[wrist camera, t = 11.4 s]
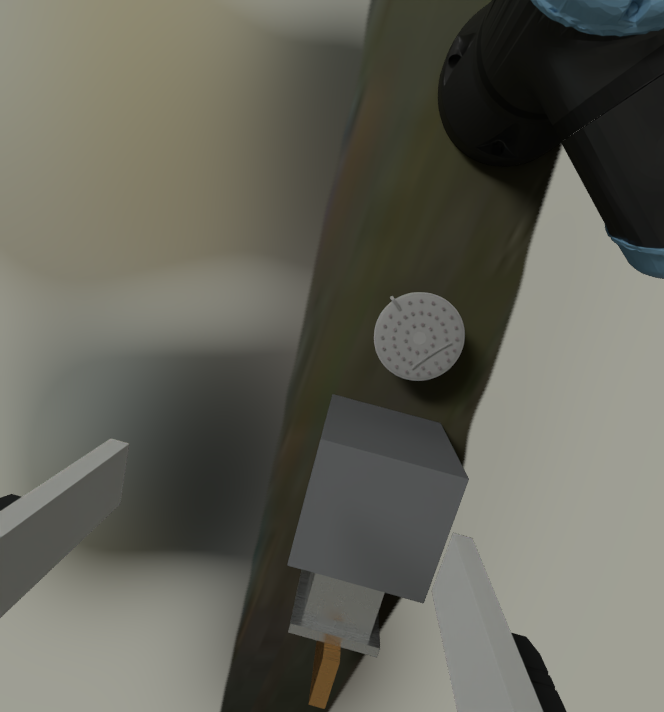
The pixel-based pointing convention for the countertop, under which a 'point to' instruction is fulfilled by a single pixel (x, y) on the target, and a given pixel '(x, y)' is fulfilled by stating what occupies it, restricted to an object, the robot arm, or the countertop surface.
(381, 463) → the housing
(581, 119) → the robot arm
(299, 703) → the countertop surface
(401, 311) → the showerhead
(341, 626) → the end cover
